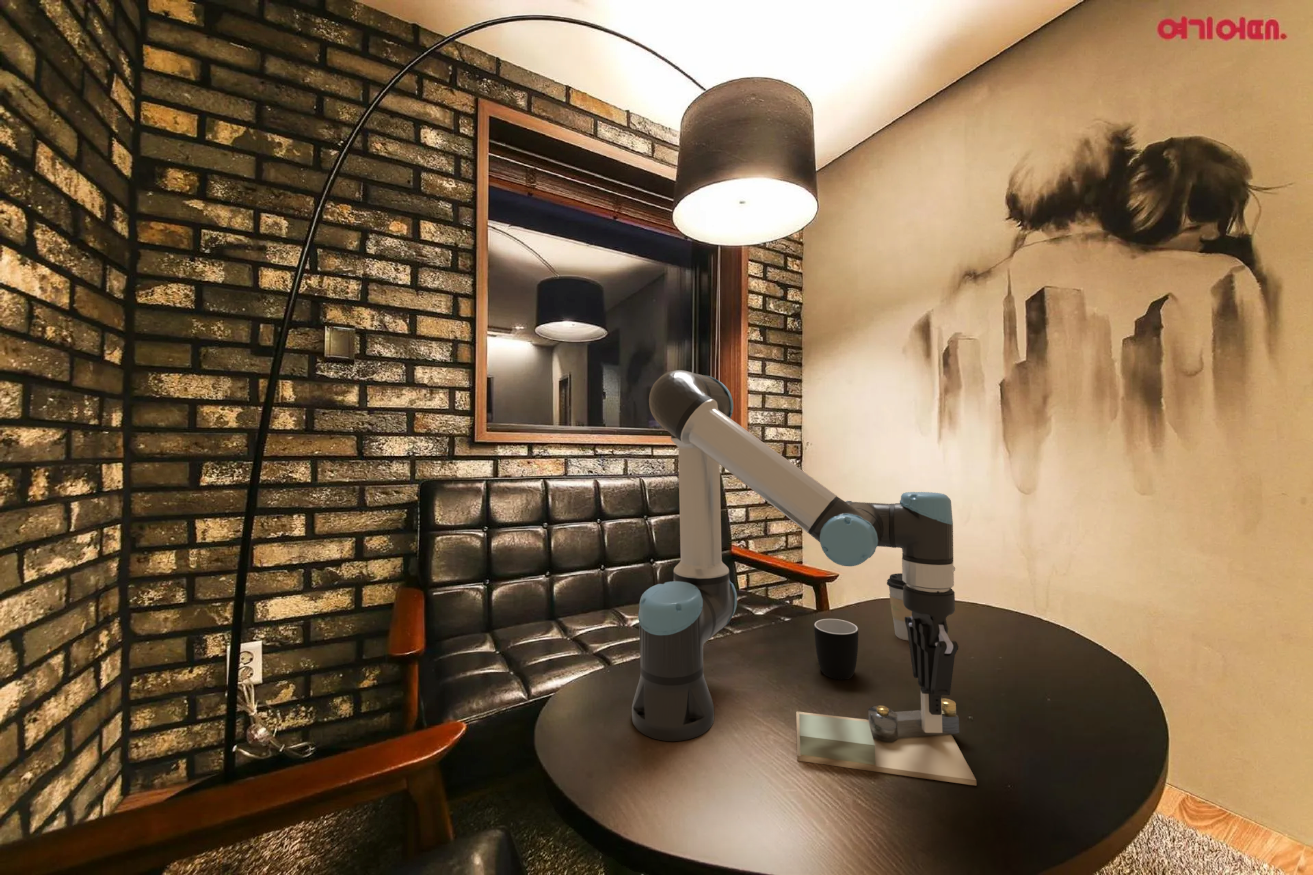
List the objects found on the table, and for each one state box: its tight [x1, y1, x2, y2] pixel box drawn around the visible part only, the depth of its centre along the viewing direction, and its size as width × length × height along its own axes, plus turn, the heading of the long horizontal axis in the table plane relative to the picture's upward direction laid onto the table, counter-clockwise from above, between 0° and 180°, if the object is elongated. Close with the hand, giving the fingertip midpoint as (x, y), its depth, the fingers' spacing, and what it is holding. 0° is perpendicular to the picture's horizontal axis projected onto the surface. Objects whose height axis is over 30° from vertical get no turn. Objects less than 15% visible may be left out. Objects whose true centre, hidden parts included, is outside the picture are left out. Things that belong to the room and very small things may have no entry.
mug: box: [813, 618, 859, 680], centre depth 108 cm, size 12×9×10 cm
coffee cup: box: [886, 572, 912, 642], centre depth 125 cm, size 9×9×15 cm
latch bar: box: [867, 697, 960, 742], centre depth 83 cm, size 15×4×5 cm, turn 95°
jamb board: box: [795, 711, 977, 786], centre depth 81 cm, size 25×13×4 cm, turn 75°
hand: (931, 730), depth 81 cm, fingers closed
